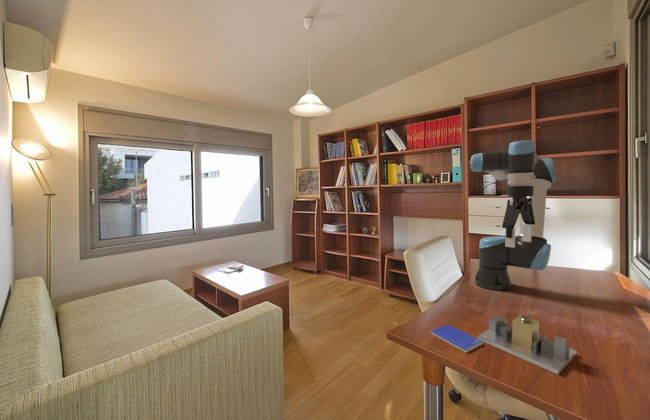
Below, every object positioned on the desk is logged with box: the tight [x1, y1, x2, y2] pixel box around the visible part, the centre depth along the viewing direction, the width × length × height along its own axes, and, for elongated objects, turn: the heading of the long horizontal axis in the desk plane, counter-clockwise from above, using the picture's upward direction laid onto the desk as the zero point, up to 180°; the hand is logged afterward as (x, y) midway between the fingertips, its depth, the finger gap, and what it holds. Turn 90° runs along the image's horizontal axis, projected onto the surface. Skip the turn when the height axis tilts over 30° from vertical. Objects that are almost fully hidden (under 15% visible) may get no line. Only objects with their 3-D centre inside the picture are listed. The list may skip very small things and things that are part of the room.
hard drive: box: [430, 324, 484, 353], centre depth 88 cm, size 2×8×12 cm
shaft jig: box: [477, 315, 577, 375], centre depth 82 cm, size 20×14×5 cm
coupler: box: [511, 314, 540, 350], centre depth 82 cm, size 5×5×8 cm
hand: (518, 244), depth 99 cm, fingers open, 13 cm apart
